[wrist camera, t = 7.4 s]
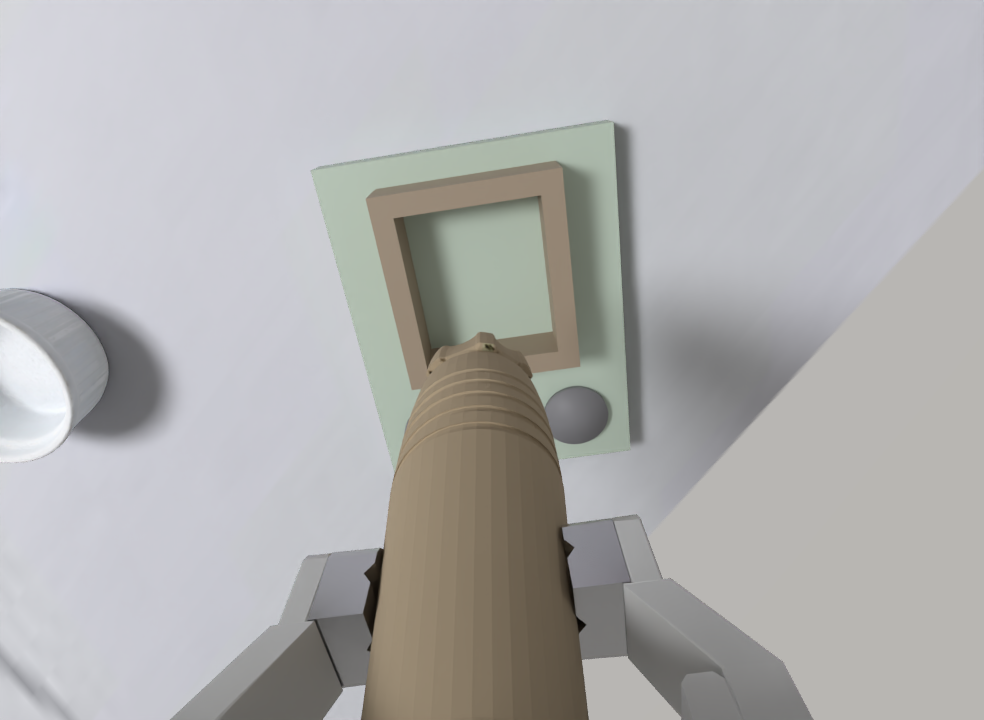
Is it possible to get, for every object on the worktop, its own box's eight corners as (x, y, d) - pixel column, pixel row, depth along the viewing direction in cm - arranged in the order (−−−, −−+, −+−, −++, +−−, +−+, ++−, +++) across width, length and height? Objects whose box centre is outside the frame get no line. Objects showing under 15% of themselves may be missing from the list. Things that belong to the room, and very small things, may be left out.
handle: (601, 338, 18) (981, 1198, 4) (483, 473, 20) (485, 1297, 7) (473, 251, 16) (434, 1105, 3) (362, 407, 19) (57, 1275, 5)
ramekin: (-70, 362, 32) (-147, 400, 28) (-14, 242, 29) (-92, 267, 25) (84, 445, 34) (32, 491, 30) (148, 343, 31) (101, 380, 28)
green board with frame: (624, 436, 34) (641, 476, 31) (400, 465, 35) (390, 508, 32) (606, 120, 27) (626, 125, 23) (319, 166, 27) (294, 178, 24)
